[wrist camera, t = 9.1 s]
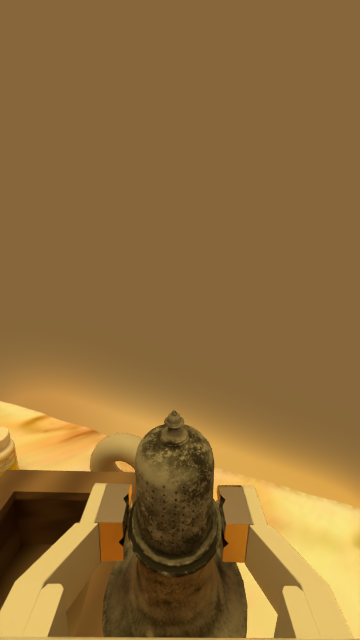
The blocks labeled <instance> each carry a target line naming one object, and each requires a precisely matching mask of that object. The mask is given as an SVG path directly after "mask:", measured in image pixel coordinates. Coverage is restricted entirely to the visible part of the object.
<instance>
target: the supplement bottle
mask: <svg viewBox="0 0 360 640" xmlns="http://www.w3.org/2000/svg"><path fill="white" fill-rule="evenodd" d="M5 470H19V467H18V462H17V456H16V451H15V445H14V442H13V440H12V439H10V434H9V430H8V429H7V428H5V427H0V476H1V475H2V474H3V473H4V472H5Z"/></svg>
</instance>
